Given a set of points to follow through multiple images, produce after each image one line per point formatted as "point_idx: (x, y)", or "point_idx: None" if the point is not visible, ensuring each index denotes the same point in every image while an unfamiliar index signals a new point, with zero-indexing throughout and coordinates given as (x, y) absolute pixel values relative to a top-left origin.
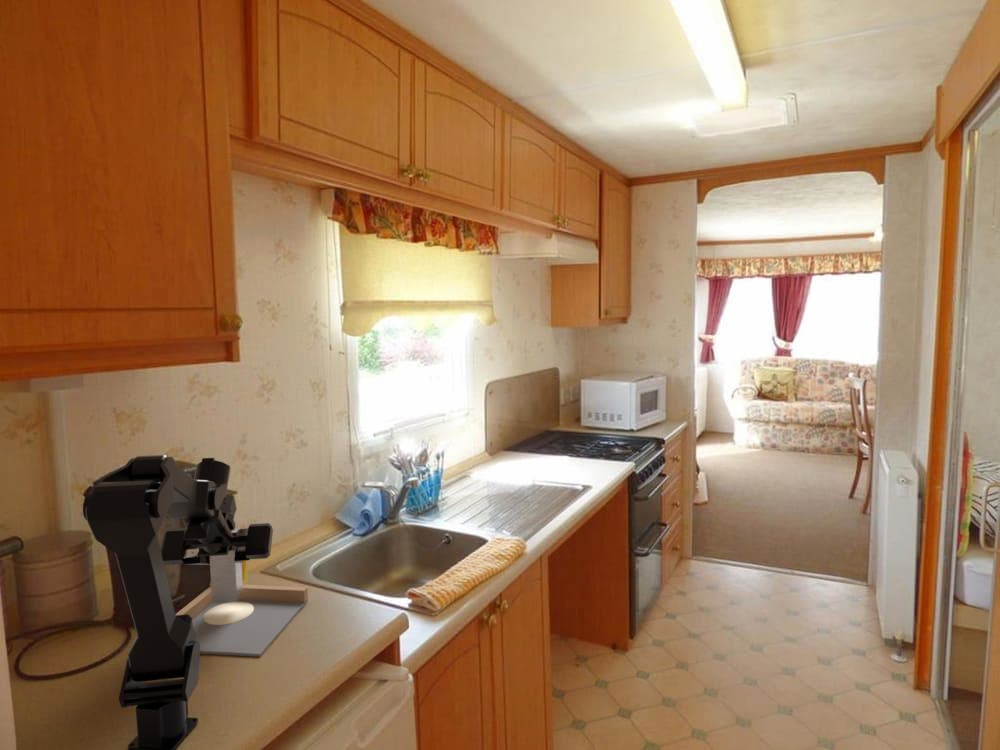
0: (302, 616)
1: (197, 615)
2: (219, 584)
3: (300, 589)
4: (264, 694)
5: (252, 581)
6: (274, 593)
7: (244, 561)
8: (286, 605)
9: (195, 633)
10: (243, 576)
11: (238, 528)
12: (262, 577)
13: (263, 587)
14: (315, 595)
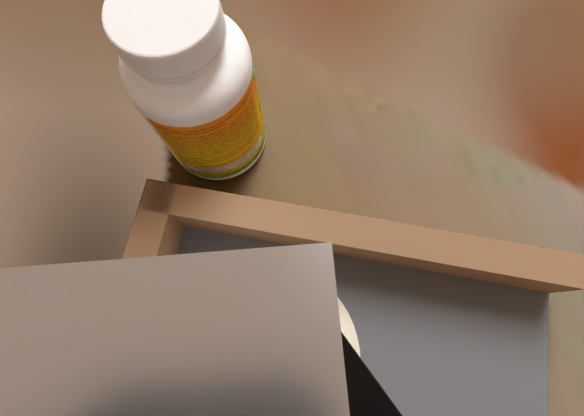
0: (572, 395)
1: None
2: None
3: (560, 274)
4: None
5: (269, 87)
6: (427, 263)
7: (250, 84)
8: (481, 312)
9: None
10: (254, 129)
11: (329, 333)
12: (296, 60)
13: (377, 238)
14: (552, 215)
